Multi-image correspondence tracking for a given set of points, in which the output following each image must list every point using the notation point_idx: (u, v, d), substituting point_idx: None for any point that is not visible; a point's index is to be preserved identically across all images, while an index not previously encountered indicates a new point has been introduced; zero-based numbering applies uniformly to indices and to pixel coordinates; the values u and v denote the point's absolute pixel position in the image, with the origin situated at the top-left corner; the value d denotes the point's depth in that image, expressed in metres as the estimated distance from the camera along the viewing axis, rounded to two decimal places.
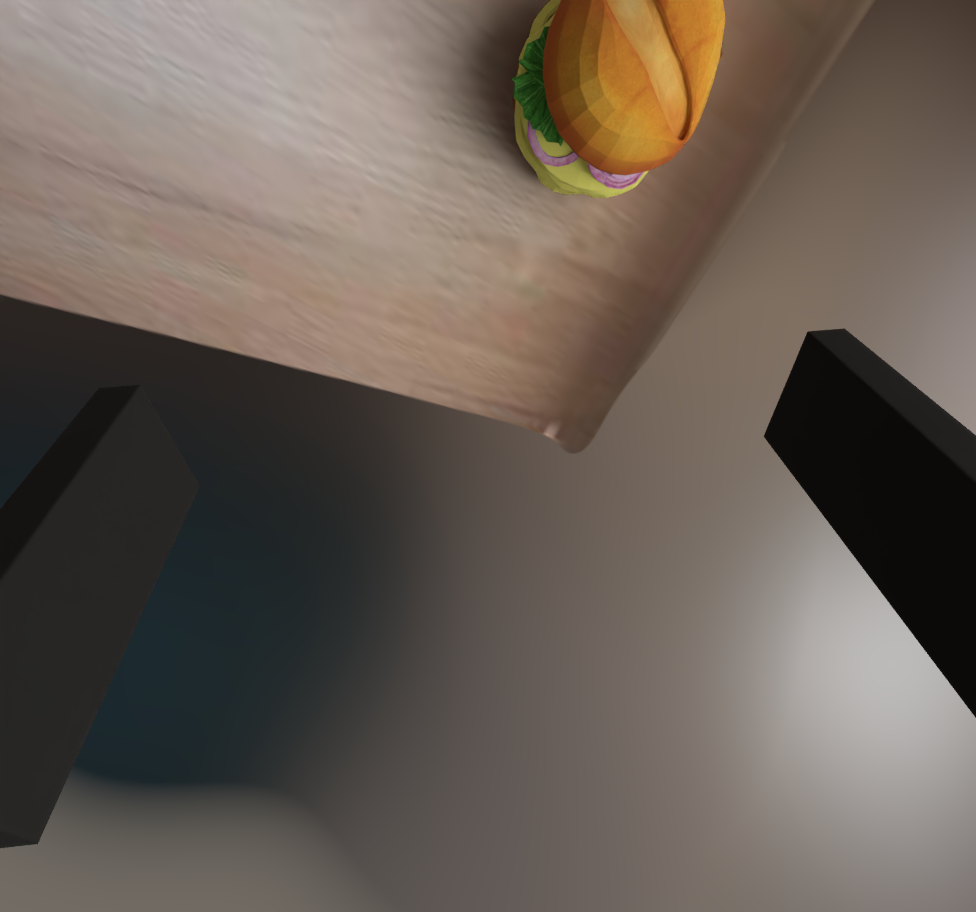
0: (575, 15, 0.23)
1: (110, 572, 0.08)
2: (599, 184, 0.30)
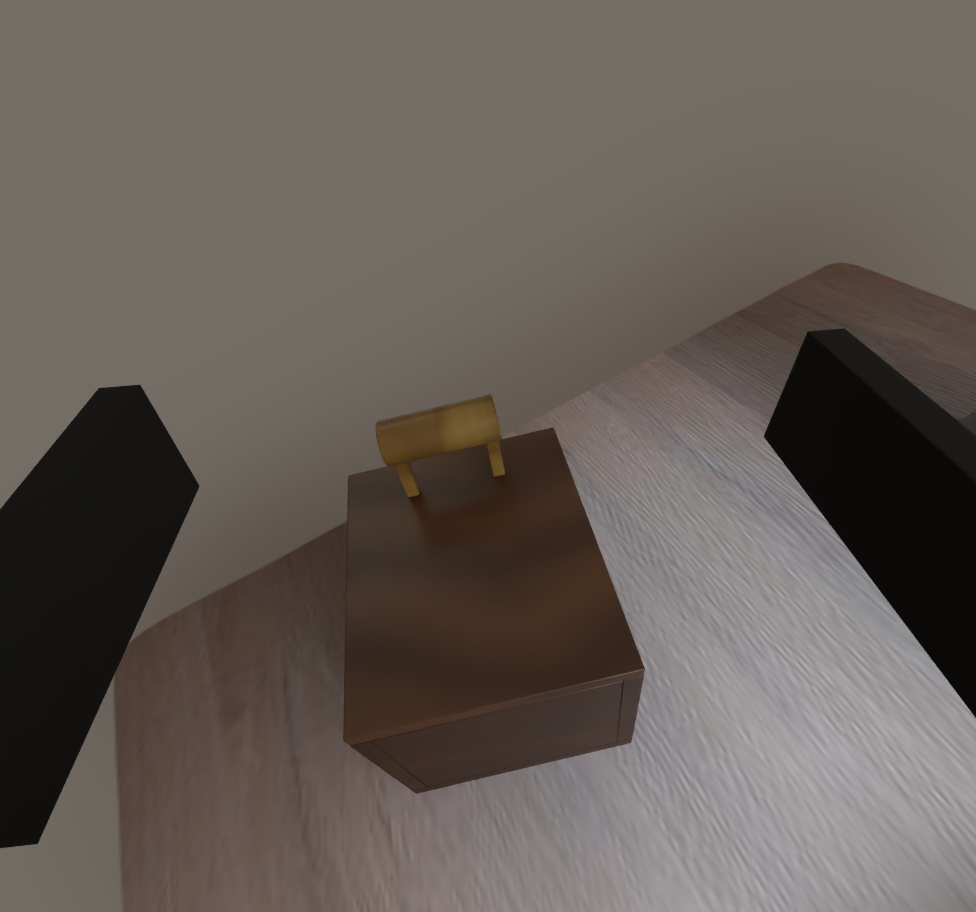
0: None
1: (110, 572, 0.08)
2: None
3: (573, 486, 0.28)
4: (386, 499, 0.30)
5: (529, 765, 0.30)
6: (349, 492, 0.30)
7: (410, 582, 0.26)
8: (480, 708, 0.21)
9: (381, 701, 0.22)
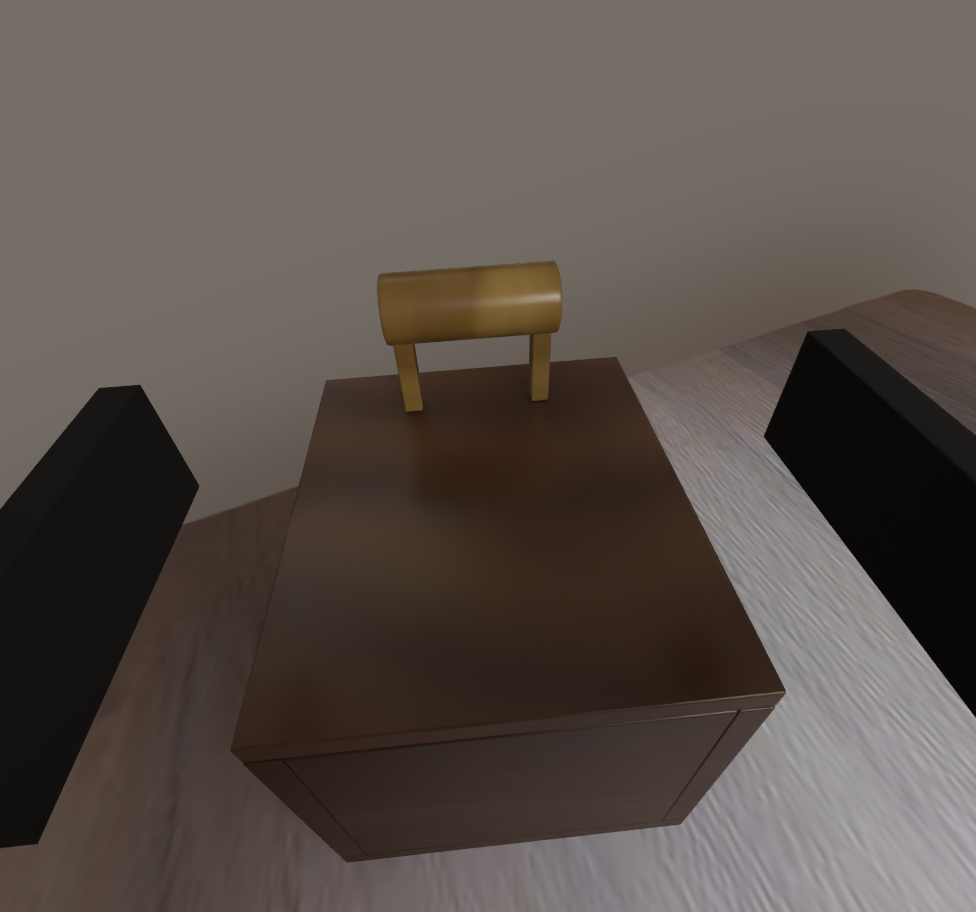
0: None
1: (110, 572, 0.08)
2: None
3: (647, 423, 0.19)
4: (374, 411, 0.21)
5: (525, 840, 0.19)
6: (323, 398, 0.21)
7: (393, 516, 0.16)
8: (488, 724, 0.12)
9: (313, 690, 0.12)
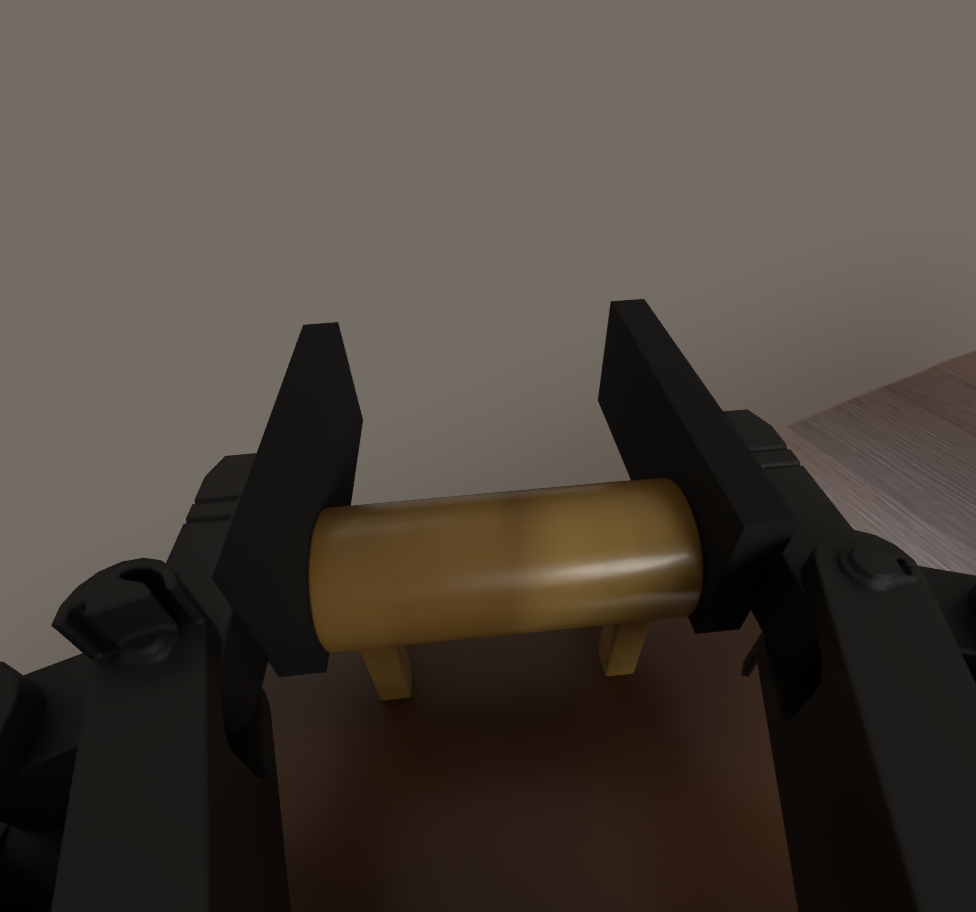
0: None
1: (337, 473, 0.10)
2: None
3: None
4: (323, 696, 0.12)
5: None
6: None
7: None
8: None
9: None
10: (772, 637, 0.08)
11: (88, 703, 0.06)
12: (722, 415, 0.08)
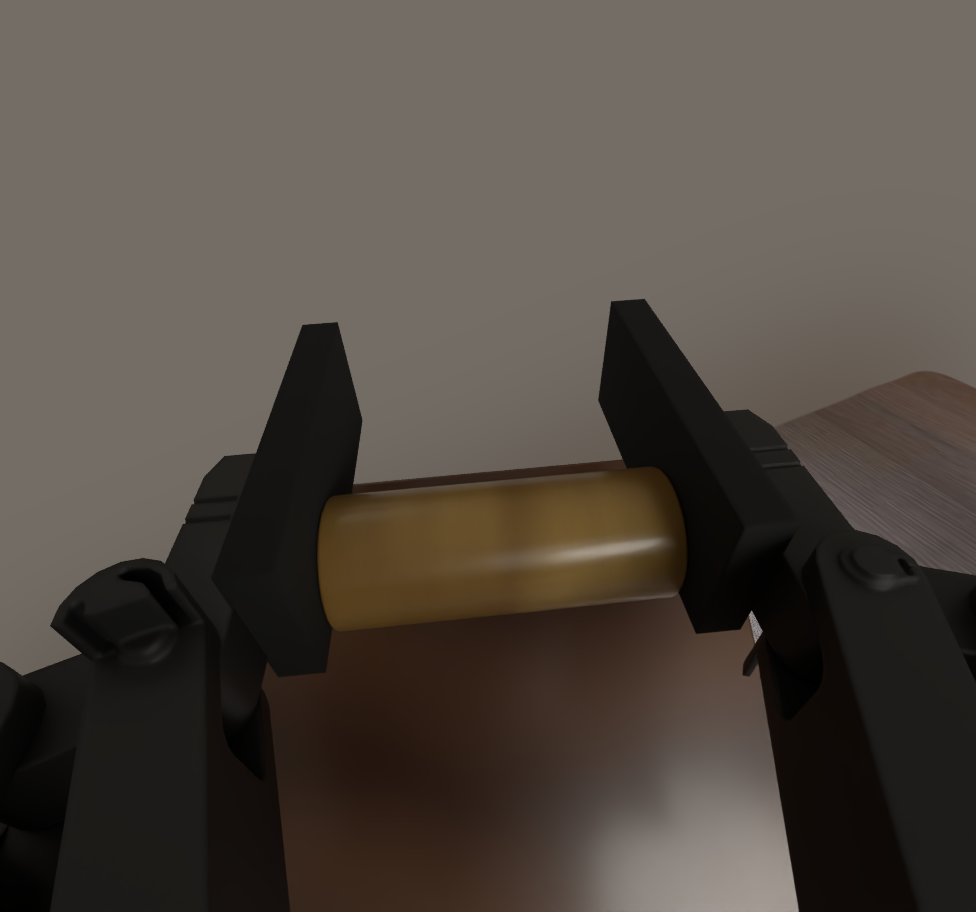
0: None
1: (336, 473, 0.10)
2: None
3: (747, 629, 0.13)
4: None
5: None
6: None
7: (385, 833, 0.12)
8: None
9: None
10: (773, 637, 0.07)
11: (87, 703, 0.06)
12: (722, 415, 0.08)
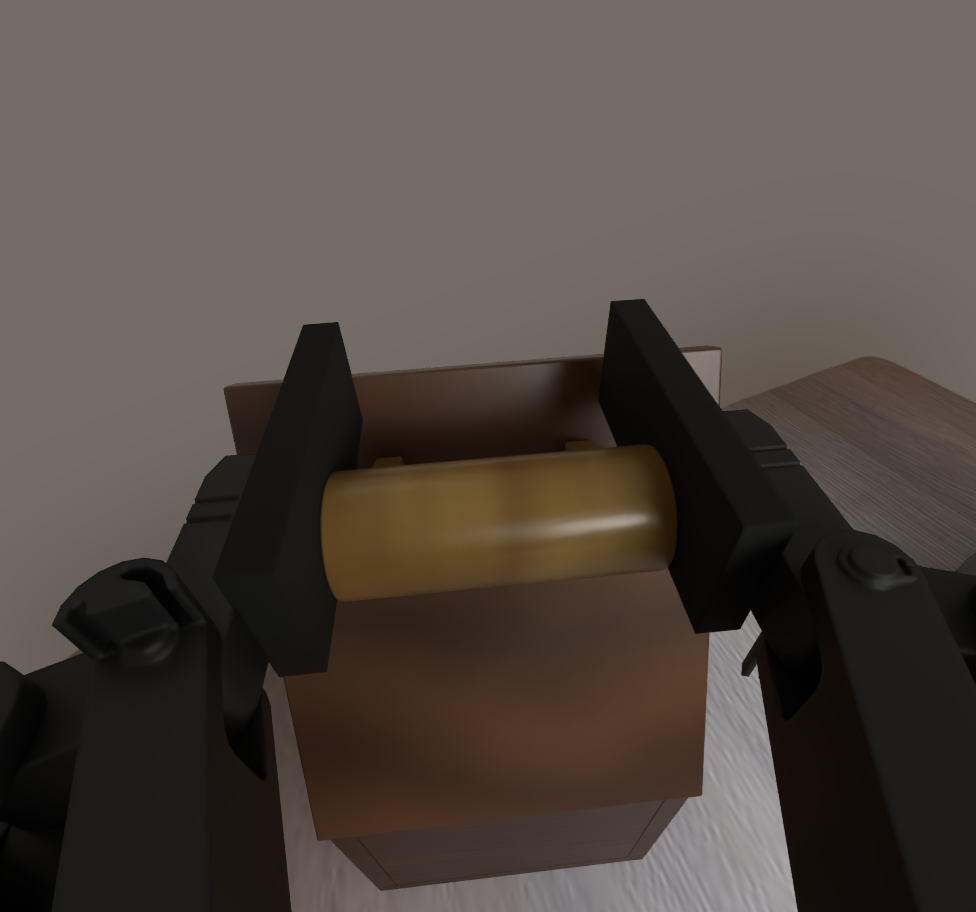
0: None
1: None
2: None
3: None
4: None
5: (520, 872, 0.25)
6: (238, 441, 0.13)
7: (395, 658, 0.15)
8: (495, 818, 0.17)
9: (364, 807, 0.17)
10: (772, 637, 0.08)
11: (89, 703, 0.06)
12: (722, 415, 0.08)
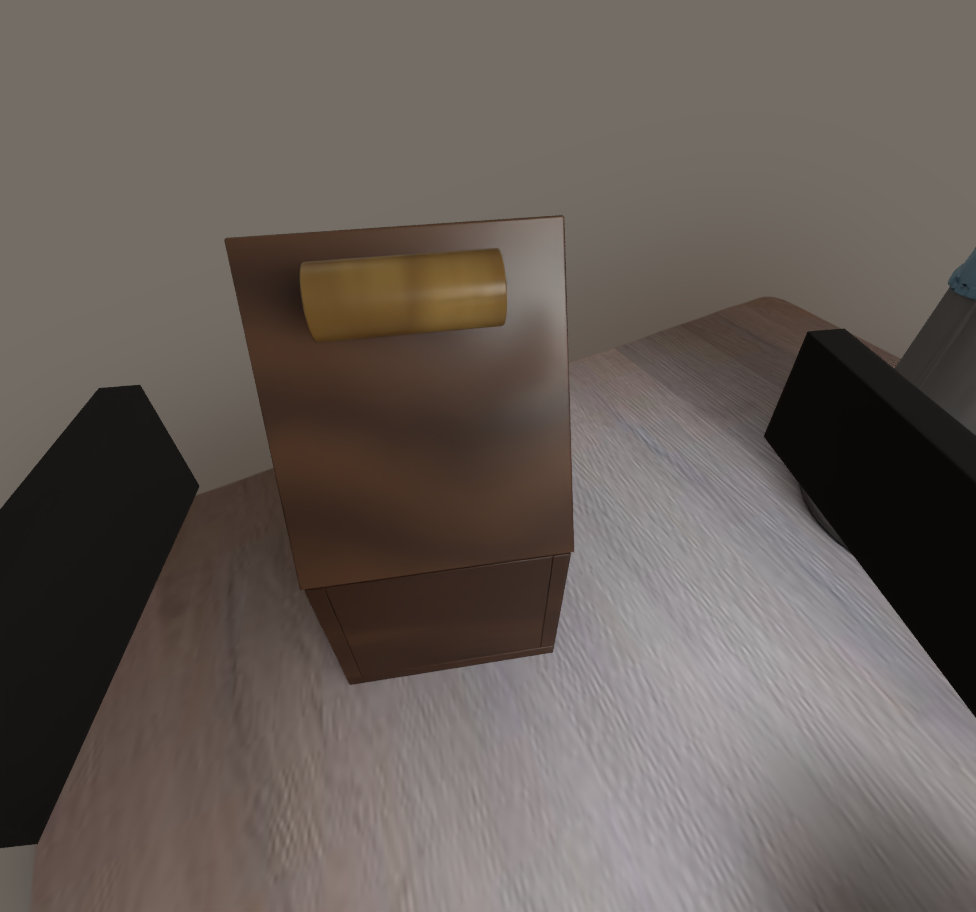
0: None
1: (110, 572, 0.08)
2: None
3: (565, 339, 0.22)
4: (301, 306, 0.20)
5: (459, 665, 0.32)
6: (235, 278, 0.19)
7: (352, 444, 0.22)
8: (428, 571, 0.24)
9: (333, 562, 0.23)
10: None
11: None
12: None
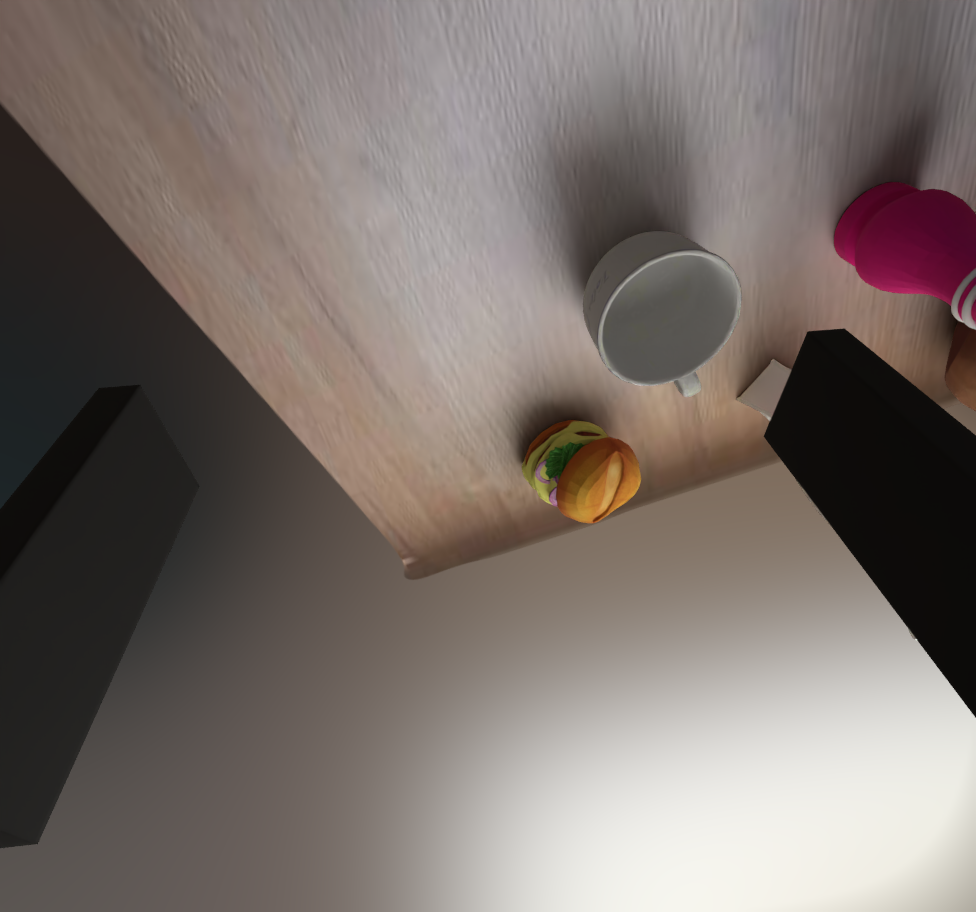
0: (596, 459, 0.49)
1: (110, 572, 0.08)
2: (547, 497, 0.55)
3: None
4: None
5: None
6: None
7: None
8: None
9: None
10: None
11: None
12: None
